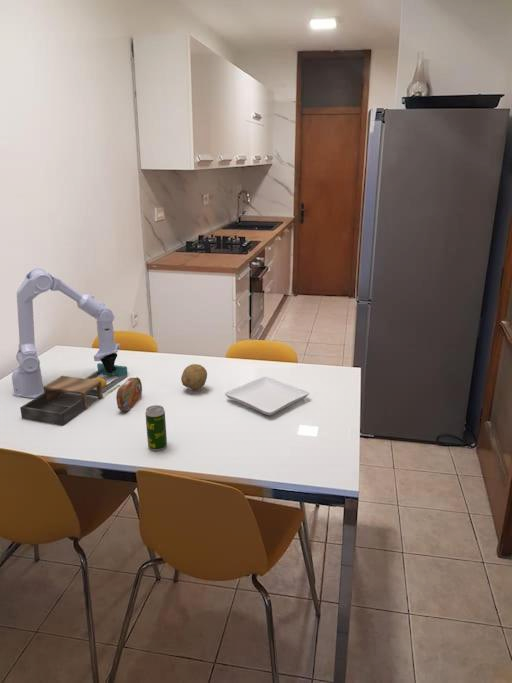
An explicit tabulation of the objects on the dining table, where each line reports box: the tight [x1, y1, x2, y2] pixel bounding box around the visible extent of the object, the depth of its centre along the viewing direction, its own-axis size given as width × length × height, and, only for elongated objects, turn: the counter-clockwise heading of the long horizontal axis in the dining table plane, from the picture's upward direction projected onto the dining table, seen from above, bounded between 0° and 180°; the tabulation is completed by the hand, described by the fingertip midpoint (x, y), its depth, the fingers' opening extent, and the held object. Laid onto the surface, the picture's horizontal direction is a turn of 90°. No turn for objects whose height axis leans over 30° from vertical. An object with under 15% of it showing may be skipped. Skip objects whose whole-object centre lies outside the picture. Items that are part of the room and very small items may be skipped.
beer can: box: [144, 404, 168, 452], centre depth 151 cm, size 5×5×12 cm
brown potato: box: [180, 363, 208, 392], centre depth 188 cm, size 9×9×10 cm
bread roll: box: [89, 377, 108, 389], centre depth 192 cm, size 8×9×4 cm
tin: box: [115, 376, 143, 412], centre depth 178 cm, size 15×3×8 cm, turn 168°
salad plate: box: [224, 376, 310, 416], centre depth 181 cm, size 21×21×3 cm
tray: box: [19, 375, 121, 426], centre depth 181 cm, size 16×32×6 cm, turn 162°
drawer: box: [84, 362, 128, 396], centre depth 195 cm, size 12×19×4 cm, turn 162°
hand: (109, 372), depth 201 cm, fingers closed
